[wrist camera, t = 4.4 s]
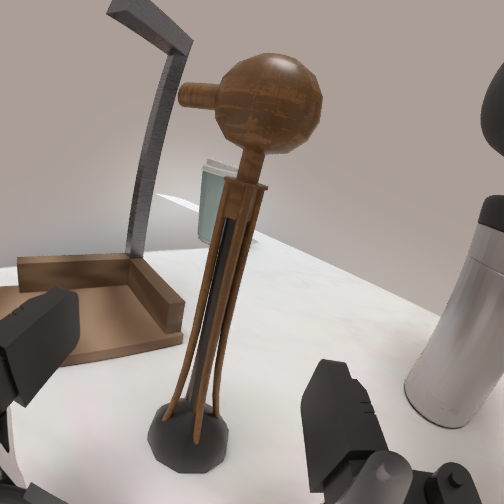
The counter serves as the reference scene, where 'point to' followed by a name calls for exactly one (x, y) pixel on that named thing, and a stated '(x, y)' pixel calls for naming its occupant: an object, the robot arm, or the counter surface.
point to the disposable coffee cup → (212, 195)
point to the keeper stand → (131, 262)
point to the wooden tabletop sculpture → (231, 238)
